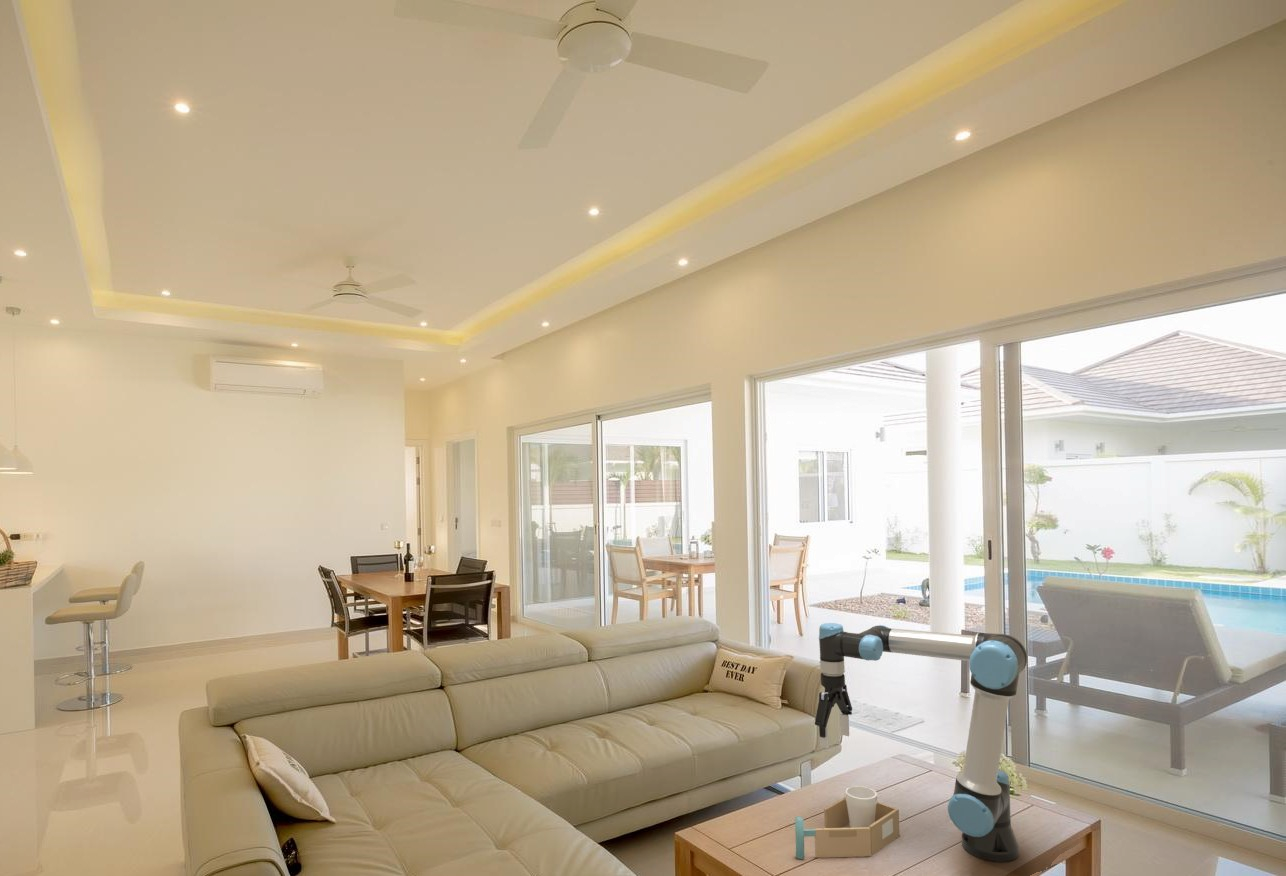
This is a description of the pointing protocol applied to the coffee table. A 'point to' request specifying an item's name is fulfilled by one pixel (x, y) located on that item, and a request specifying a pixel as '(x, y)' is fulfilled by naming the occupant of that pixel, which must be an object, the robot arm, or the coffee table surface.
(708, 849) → the coffee table surface
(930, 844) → the coffee table surface
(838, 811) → the carton
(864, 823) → the foam cup
